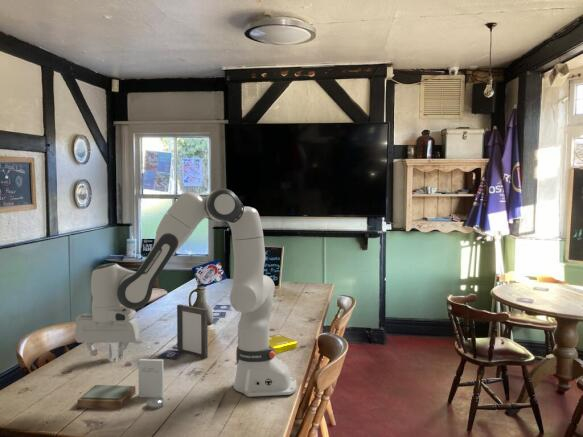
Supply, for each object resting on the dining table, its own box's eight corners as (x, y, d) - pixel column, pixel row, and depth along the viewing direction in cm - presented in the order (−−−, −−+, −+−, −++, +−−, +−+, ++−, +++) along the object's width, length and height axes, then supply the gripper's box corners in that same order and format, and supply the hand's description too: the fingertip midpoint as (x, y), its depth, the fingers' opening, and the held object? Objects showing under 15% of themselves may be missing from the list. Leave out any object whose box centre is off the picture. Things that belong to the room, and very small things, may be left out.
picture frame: (177, 353, 204) (177, 305, 203) (180, 352, 206) (180, 304, 205) (204, 361, 196) (204, 310, 195) (208, 359, 197) (208, 309, 196)
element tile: (271, 358, 201) (270, 347, 200) (251, 349, 212) (251, 338, 212) (298, 351, 210) (299, 340, 210) (278, 343, 222) (278, 332, 221)
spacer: (165, 403, 156) (165, 397, 156) (160, 410, 151) (160, 404, 151) (150, 403, 156) (150, 397, 156) (144, 409, 151) (144, 403, 151)
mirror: (135, 393, 163) (135, 384, 163) (120, 409, 151) (120, 399, 151) (95, 392, 164) (95, 383, 164) (77, 407, 152) (77, 398, 152)
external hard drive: (140, 395, 162) (139, 358, 162) (164, 395, 162) (163, 359, 161) (138, 397, 161) (138, 360, 160) (162, 397, 160) (162, 361, 159)
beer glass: (127, 361, 195) (127, 325, 194) (111, 366, 189) (110, 328, 189) (119, 357, 199) (118, 321, 199) (103, 361, 194) (102, 325, 194)
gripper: (70, 315, 154) (72, 358, 154) (133, 315, 153) (134, 358, 153) (80, 311, 160) (81, 352, 161) (140, 311, 159) (141, 352, 160)
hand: (107, 355), depth 157 cm, fingers open, 8 cm apart
